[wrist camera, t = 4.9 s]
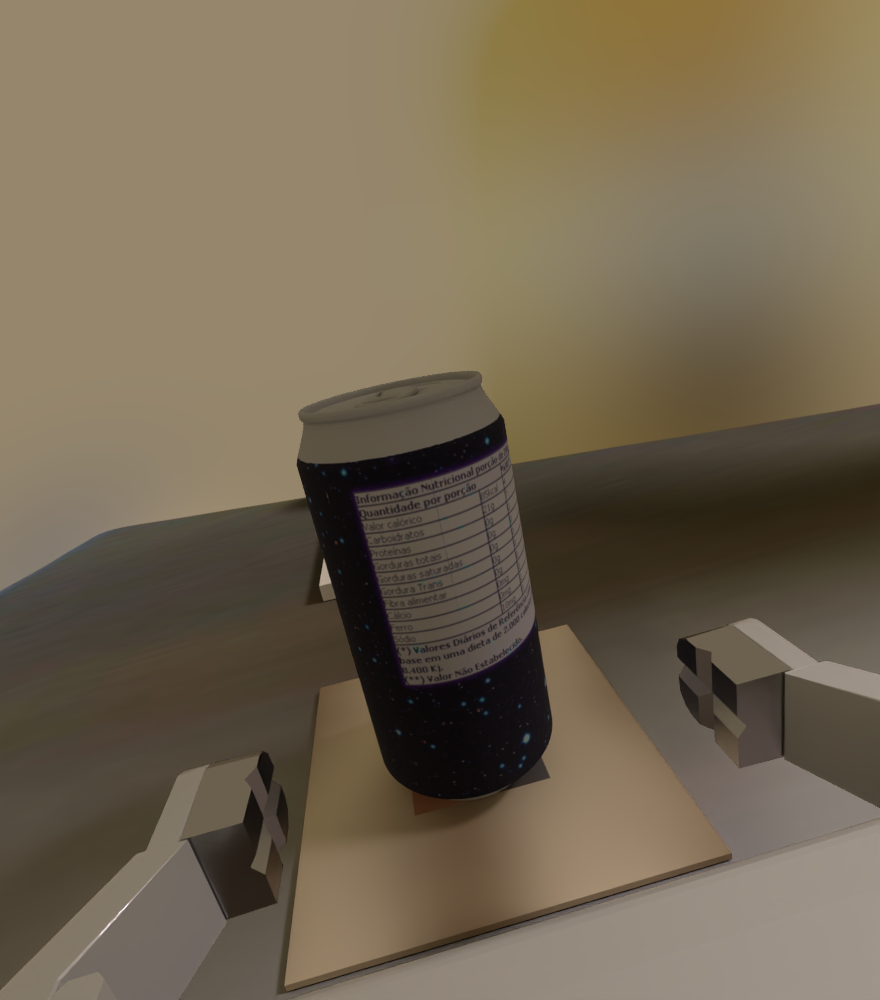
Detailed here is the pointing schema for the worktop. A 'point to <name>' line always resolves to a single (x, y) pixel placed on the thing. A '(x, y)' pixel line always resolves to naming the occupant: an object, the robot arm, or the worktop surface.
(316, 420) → the beverage can
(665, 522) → the worktop surface
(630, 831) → the pad
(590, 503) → the worktop surface
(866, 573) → the worktop surface
